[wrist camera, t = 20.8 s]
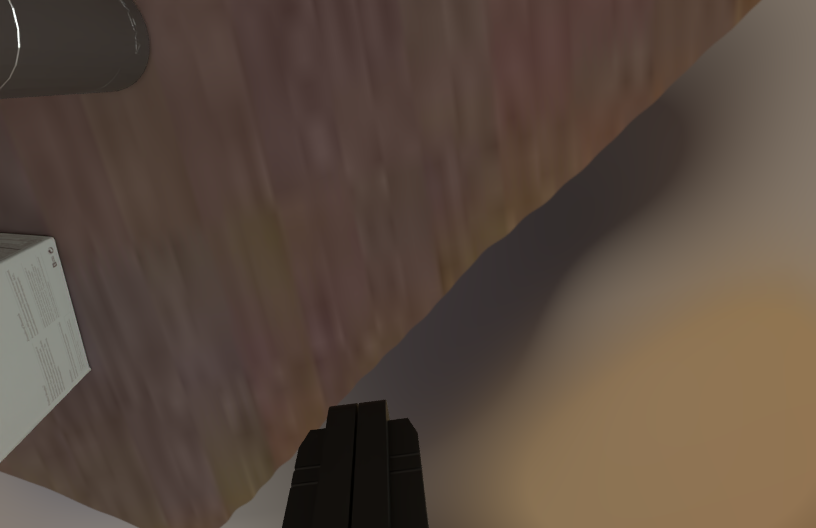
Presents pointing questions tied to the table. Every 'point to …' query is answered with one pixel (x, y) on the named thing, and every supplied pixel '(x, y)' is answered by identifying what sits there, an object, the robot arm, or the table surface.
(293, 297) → the table surface
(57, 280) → the supplement box
